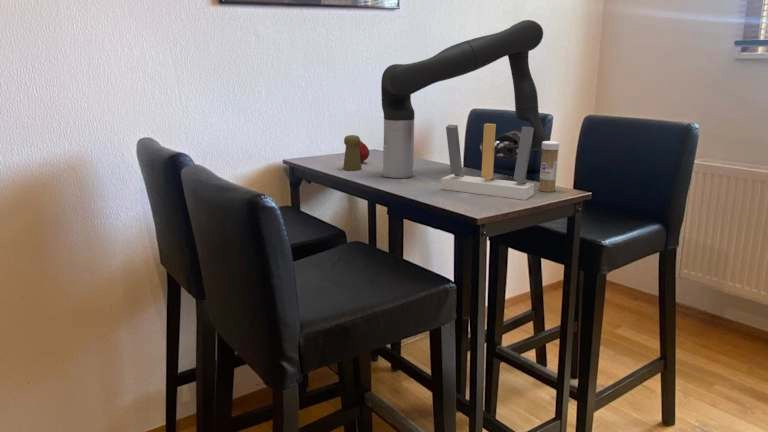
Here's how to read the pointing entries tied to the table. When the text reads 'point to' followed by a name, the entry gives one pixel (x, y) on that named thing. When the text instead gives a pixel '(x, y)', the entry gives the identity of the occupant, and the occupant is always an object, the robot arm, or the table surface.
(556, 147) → the sprinkles bottle
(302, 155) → the table surface
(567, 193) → the table surface
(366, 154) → the red oval lump
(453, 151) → the lever left
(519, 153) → the lever right
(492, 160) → the lever middle
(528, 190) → the lever base
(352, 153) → the cork
